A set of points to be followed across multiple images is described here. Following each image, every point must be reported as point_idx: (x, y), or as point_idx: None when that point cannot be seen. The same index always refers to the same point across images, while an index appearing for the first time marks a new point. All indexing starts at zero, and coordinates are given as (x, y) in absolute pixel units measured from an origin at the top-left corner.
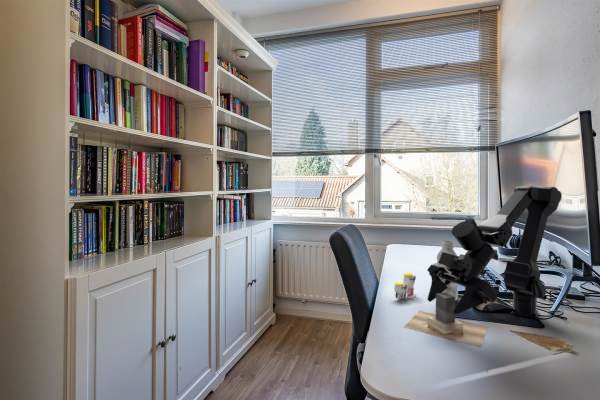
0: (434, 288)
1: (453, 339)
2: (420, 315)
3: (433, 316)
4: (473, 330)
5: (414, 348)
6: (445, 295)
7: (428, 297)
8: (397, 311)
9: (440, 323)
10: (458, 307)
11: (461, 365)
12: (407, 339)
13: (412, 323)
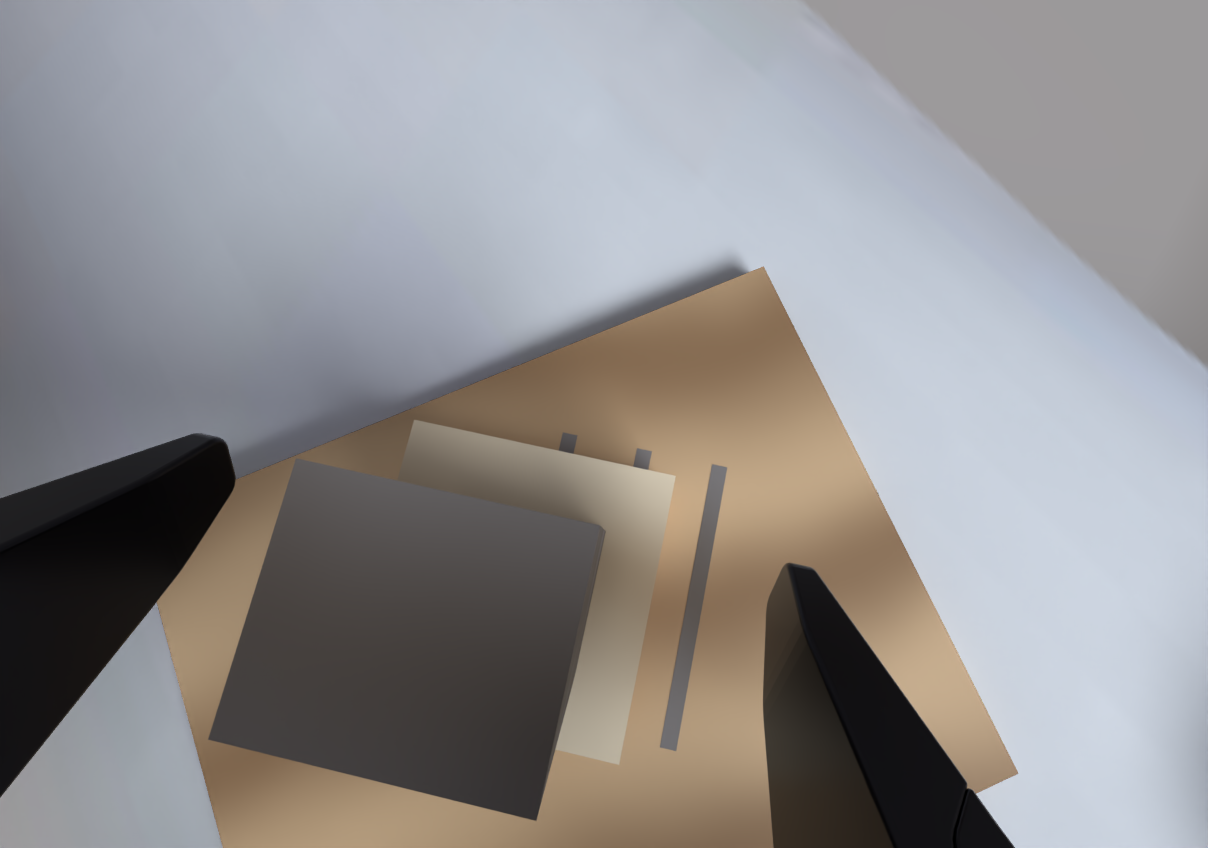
0: (862, 818)
1: (353, 445)
2: (899, 654)
3: (655, 556)
4: (337, 817)
5: (490, 119)
6: (402, 618)
7: (811, 585)
8: (1147, 580)
9: (484, 452)
10: (88, 472)
11: (155, 201)
12: (617, 181)
13: (785, 404)
